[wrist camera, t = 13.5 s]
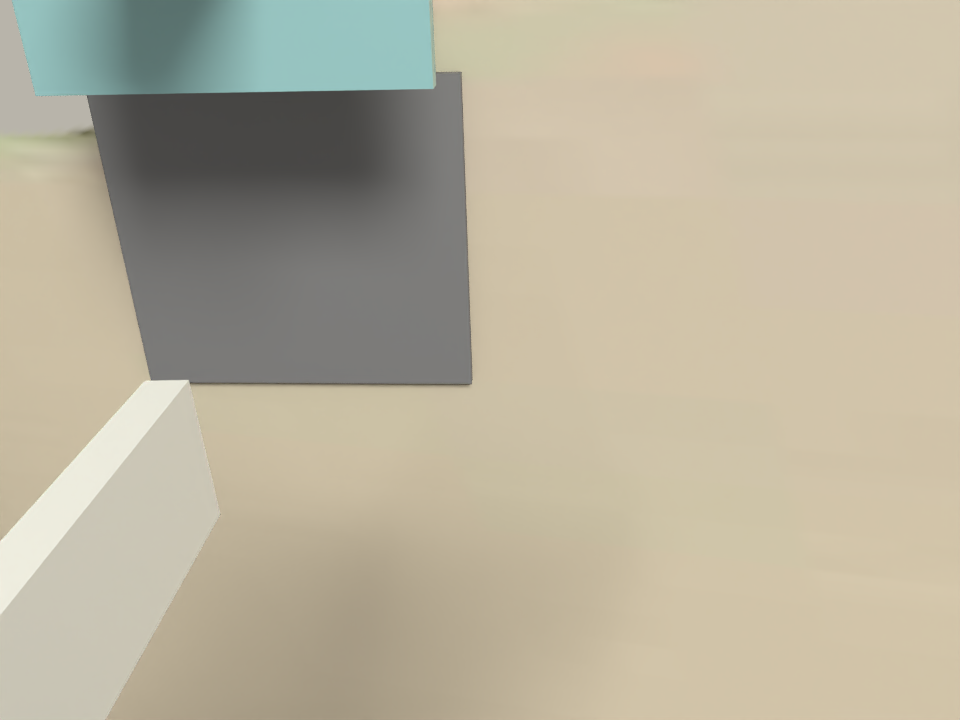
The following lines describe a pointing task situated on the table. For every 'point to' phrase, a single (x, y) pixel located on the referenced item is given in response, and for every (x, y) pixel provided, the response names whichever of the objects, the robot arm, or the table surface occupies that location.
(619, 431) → the table surface
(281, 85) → the cover board
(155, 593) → the robot arm
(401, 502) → the table surface
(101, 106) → the mat
